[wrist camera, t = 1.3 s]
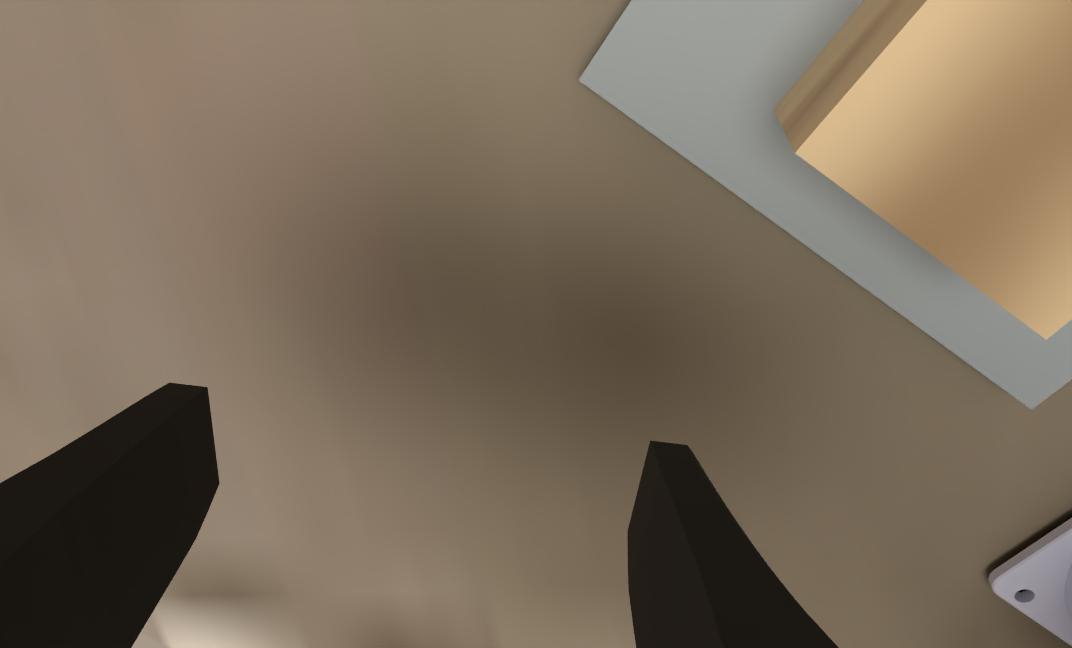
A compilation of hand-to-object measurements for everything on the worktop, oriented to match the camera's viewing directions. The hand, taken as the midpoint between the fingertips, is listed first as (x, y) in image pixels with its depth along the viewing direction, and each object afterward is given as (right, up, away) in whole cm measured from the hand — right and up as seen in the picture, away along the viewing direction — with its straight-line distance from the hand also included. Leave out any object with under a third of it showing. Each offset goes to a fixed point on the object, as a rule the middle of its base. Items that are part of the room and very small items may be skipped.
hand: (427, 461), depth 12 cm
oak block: (+11, +7, +4) cm, 14 cm away
